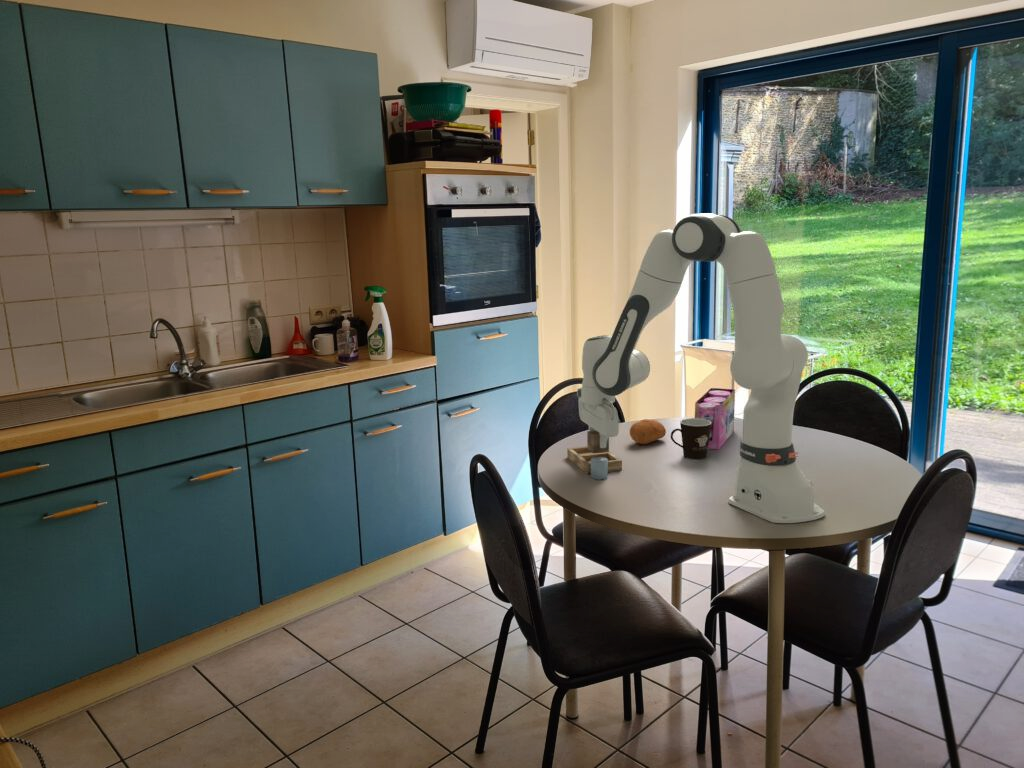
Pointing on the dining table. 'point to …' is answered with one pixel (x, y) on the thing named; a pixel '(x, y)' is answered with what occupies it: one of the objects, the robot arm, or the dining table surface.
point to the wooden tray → (583, 457)
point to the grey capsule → (599, 468)
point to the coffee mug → (694, 437)
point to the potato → (647, 431)
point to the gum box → (717, 414)
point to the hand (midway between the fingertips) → (598, 444)
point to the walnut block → (595, 442)
